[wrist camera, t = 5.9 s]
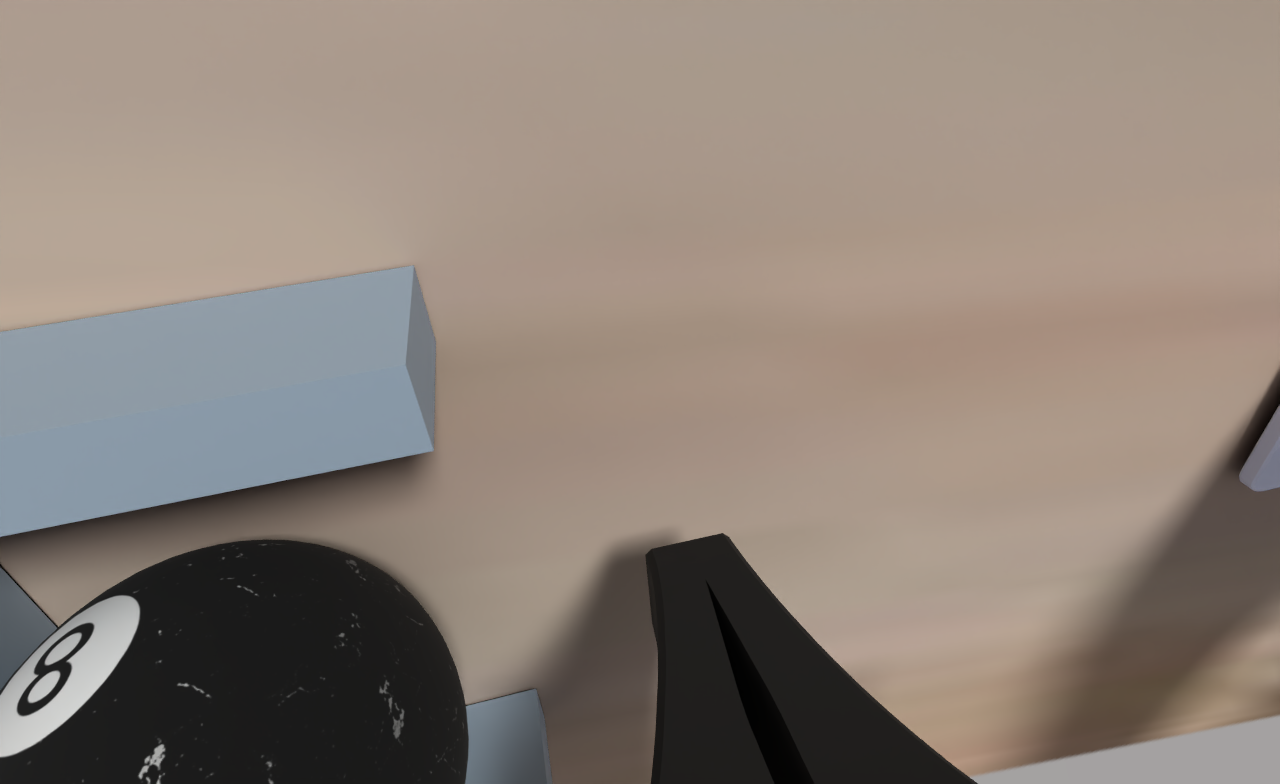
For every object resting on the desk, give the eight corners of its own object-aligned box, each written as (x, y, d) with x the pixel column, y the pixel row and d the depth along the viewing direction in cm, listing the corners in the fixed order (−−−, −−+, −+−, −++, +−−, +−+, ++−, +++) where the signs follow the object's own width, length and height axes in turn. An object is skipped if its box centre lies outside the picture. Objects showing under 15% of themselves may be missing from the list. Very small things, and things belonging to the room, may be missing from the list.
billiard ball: (259, 734, 14) (164, 1158, 9) (-25, 575, 11) (-413, 1132, 6) (519, 609, 14) (559, 985, 9) (317, 399, 10) (205, 841, 5)
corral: (413, 265, 9) (405, 364, 7) (544, 717, 16) (558, 833, 14) (-306, 380, 8) (-548, 536, 6) (158, 816, 15) (115, 957, 13)
